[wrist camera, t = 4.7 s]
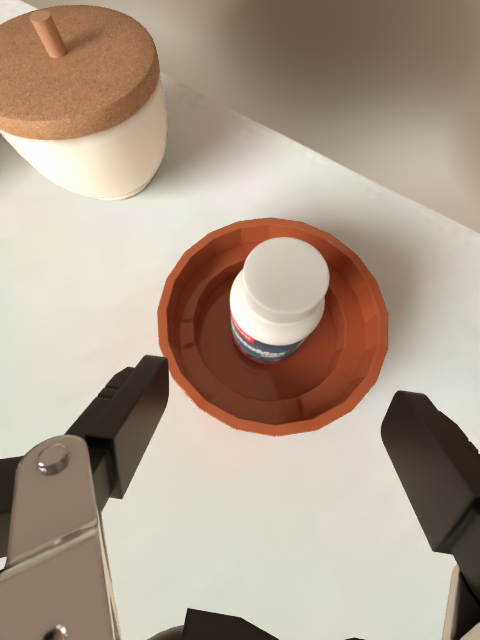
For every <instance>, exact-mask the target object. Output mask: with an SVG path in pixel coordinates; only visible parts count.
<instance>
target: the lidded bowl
mask: <svg viewBox="0 0 480 640" xmlns="http://www.w3.org/2000/svg"><path fill="white" fill-rule="evenodd" d="M0 133H1V135H2V136H3V137H4V138H5V139H6V140H7V141H8V142H9V143H10V145H11V146H12V147H13V148H14V149H15V150H16V151H17V152H18V153H19V154H20V155H21V156H22V157H23V158H24V159H25V160H26V161H27V162H28V163H29V164H30V165H31V166H33V167H34V168H35V169H36V170H37V171H39V172H40V173H41V174H42V175H44V176H45V177H46V178H48V179H49V180H51V181H52V182H54V183H56V184H57V185H59V186H61V187H62V188H65V189H67V190H69V191H71V192H74V193H76V194H80V195H83V196H88V197H94V198H97V199H101V200H106V201H117V200H123V199H127V198H130V197H132V196H134V195H136V194H138V193H139V192H141V191H142V190H143V189H144V188H146V187H147V185H148V184H149V183H150V181H151V179H152V177H153V175H154V174H155V173H156V171H157V169H158V168H159V166H160V164H161V162H162V159H163V156H164V153H165V149H166V143H167V135H168V129H167V113H166V104H165V97H164V91H163V86H162V82H161V77H160V69H159V60H158V55H157V51H156V47H155V44H154V41H153V39H152V37H151V36H150V34H149V33H148V31H147V30H146V29H145V28H144V27H143V26H142V25H141V24H140V23H139V22H137V21H136V20H135V19H133V18H132V17H130V16H128V15H126V14H123V13H121V12H118V11H115V10H112V9H108V8H103V7H98V6H89V5H65V6H55V7H50V8H45V9H40V10H36V11H31V12H29V13H26V14H23V15H20V16H18V17H15V18H13V19H11V20H8V21H6V22H5V23H3V24H1V25H0Z"/></svg>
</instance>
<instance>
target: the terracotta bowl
mask: <svg viewBox="0 0 480 640" xmlns="http://www.w3.org/2000/svg"><path fill="white" fill-rule="evenodd" d="M277 237H291V238H296V239H299V240H302V241H305V242H307V243H308V244H310V245H312V246H313V247H314V248H316V249H317V250H318V251H319V252H320V254H321V255H322V256H323V258H324V259H325V261H326V263H327V266H328V269H329V276H330V280H329V286H328V289H327V292H326V294H325V296H324V297H325V306H324V311H323V315H322V318H321V320H320V322H319V323H318V325H317V327H316V328H315V329H314V331H313V332H312V333H311V334H310V335H309V336H308V337H307V338H306V339H305V340H304V342H303V343H302V344H301V345H300V346H299V347H298V348H297V350H296V351H295V352H294V353H293V354H292V355H291V356H290V357H288V358H287V359H285V360H283V361H281V362H277V363H272V364H264V363H259V362H256V361H253V360H251V359H249V358H248V357H246V356H245V355H244V354H243V353H242V352H241V351H240V350H239V349H238V347H237V346H236V344H235V342H234V340H233V336H232V329H231V314H230V293H231V288H232V285H233V282H234V280H235V278H236V277H237V275H238V274H239V273H240V271H241V270H242V269H243V267H244V264H245V261H246V259H247V257H248V255H249V254H250V252H251V251H252V250H253V249H254V248H255V247H256V246H257V245H259V244H260V243H262V242H264V241H266V240H269V239H272V238H277ZM157 315H158V337H159V346H160V349H161V351H162V354H163V356H164V357H166V358H167V359H168V364H169V371H170V374H171V376H172V378H173V380H174V381H175V382H176V383H177V385H178V386H179V387H180V388H181V389H182V390H183V391H184V393H185V394H186V395H187V396H188V397H189V398H190V399H191V401H192V402H193V403H194V404H195V405H196V406H197V407H198V408H199V409H200V410H202V411H203V412H205V413H207V414H209V415H211V416H212V417H214V418H216V419H218V420H219V421H221V422H223V423H225V424H226V425H228V426H230V427H232V428H233V429H236V430H242V431H247V432H253V433H258V434H263V435H269V436H274V437H275V436H277V437H278V436H285V435H291V434H297V433H303V432H310V431H316V430H319V429H320V428H322V427H324V426H326V425H328V424H329V423H331V422H333V421H335V420H337V419H338V418H340V417H342V416H344V415H345V414H347V413H349V412H351V411H352V410H353V409H354V408H355V407H356V405H357V404H358V403H359V402H360V401H361V400H362V398H363V397H364V396H365V395H366V394H367V392H368V391H369V390H370V389H371V388H372V386H373V385H374V384H375V383H376V381H377V379H378V376H379V373H380V370H381V367H382V364H383V361H384V359H385V356H386V353H387V350H388V313H387V309H386V307H385V304H384V301H383V298H382V295H381V292H380V289H379V287H378V284H377V282H376V280H375V278H374V277H373V276H372V274H371V273H370V272H369V270H368V269H367V267H366V266H365V265H364V263H363V262H362V261H361V259H360V258H359V257H358V255H356V253H354V252H353V251H352V250H350V249H349V248H348V247H347V246H345V245H344V244H343V243H341V242H340V241H339V240H337V239H336V238H335V237H334V236H332V235H331V234H329V233H327V232H324V231H322V230H319V229H317V228H315V227H312V226H310V225H307V224H305V223H303V222H298V221H291V220H284V219H277V218H262V219H254V220H245V221H239V222H235V223H233V224H230V225H228V226H225V227H223V228H220V229H218V230H216V231H213V232H211V233H209V234H207V235H206V236H205V237H204V238H202V239H201V240H200V241H199V242H197V243H196V244H195V245H193V246H192V247H191V248H190V249H188V250H187V251H186V252H185V253H184V254H183V256H182V257H181V259H180V260H179V261H178V263H177V264H176V266H175V267H174V269H173V270H172V272H171V273H170V274H169V276H168V277H167V279H166V283H165V286H164V289H163V293H162V296H161V300H160V303H159V306H158V311H157Z"/></svg>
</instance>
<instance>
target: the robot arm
mask: <svg viewBox="0 0 480 640" xmlns="http://www.w3.org/2000/svg"><path fill="white" fill-rule="evenodd" d="M168 397H169V364H168V359H167V358H166V357H159V356H151V355H145V356H144V357H143V358H142V359H141V361H140V362H139V363H138V365H137V366H136V367H135V368H133V367H127V368H125V369H124V370H122V371H120V372H119V373H117V374H115V375H114V376H113V377H112V379H111V380H110V381H109V382H108V383H107V385H106V387H105V388H103V389H102V390H101V392H100V393H99V394H98V397H96V398H95V399H94V400H93V401H92V402H91V404H90V405H89V406H88V407H87V408H86V409H85V411H84V412H83V413H82V414H81V415H80V417H79V418H78V419H77V420H76V421H75V422H74V424H73V425H72V426H71V427H70V428H69V430H68V431H67V432H66V433H65V434H64V435H61V436H56V437H53V438H50V439H47V440H45V441H43V442H41V443H39V444H38V445H36V446H35V447H33V448H32V449H31V450H30V451H29V452H27V453H26V454H25V456H20V457H13V458H6V459H0V558H2V557H7V560H6V564H5V567H4V569H2V570H0V640H122V639H121V633H120V626H119V620H118V614H117V609H116V603H115V597H114V592H113V585H112V579H111V573H110V566H109V560H108V553H107V547H106V540H105V534H104V528H103V521H102V515H101V512H102V510H103V508H104V506H105V504H106V503H107V501H108V499H109V497H111V498H117V499H123V496H124V494H125V492H126V490H127V488H128V486H129V484H130V482H131V480H132V478H133V476H134V473H135V471H136V469H137V467H138V465H139V463H140V461H141V459H142V457H143V455H144V452H145V450H146V448H147V446H148V444H149V442H150V440H151V438H152V436H153V434H154V432H155V429H156V427H157V425H158V423H159V421H160V419H161V417H162V415H163V413H164V411H165V408H166V405H167V402H168ZM381 437H382V441H383V444H384V446H385V448H386V450H387V452H388V455H389V457H390V459H391V461H392V463H393V465H394V468H395V470H396V472H397V474H398V476H399V479H400V481H401V483H402V485H403V487H404V490H405V492H406V494H407V496H408V498H409V500H410V503H411V505H412V507H413V509H414V511H415V514H416V516H417V518H418V520H419V522H420V525H421V527H422V529H423V531H424V533H425V535H426V538H427V540H428V542H429V544H430V546H431V549H432V551H434V552H440V553H446V554H452V555H453V556H454V558H455V560H456V562H457V565H456V566H455V567H454V569H453V571H452V576H451V583H450V589H449V596H448V602H447V609H446V615H445V622H444V628H443V635H442V640H480V454H479V453H478V450H477V449H476V447H475V446H474V445H473V444H472V442H469V441H468V438H467V436H466V435H465V434H464V433H463V431H462V430H461V429H460V428H459V426H458V425H457V424H456V423H454V422H453V421H452V420H451V419H449V418H448V417H447V416H446V415H444V414H443V413H442V412H441V411H438V410H437V408H436V407H435V406H434V405H433V403H432V402H431V401H430V399H429V398H428V397H427V396H426V395H425V394H422V393H415V392H408V391H397V392H396V393H395V395H394V397H393V399H392V401H391V404H390V406H389V408H388V411H387V413H386V415H385V417H384V420H383V422H382V425H381ZM148 640H279V639H277V638H276V637H274V636H272V635H270V634H269V633H267V632H265V631H263V630H262V629H260V628H258V627H256V626H255V625H253V624H251V623H249V622H248V621H246V620H244V619H242V618H241V617H235V616H229V615H224V614H218V613H212V612H207V611H201V610H196V609H190V608H187V613H186V618H185V623H184V625H182V626H177V627H173V628H170V629H168V630H165V631H163V632H160V633H158V634H156V635H154V636H153V637H151V638H149V639H148ZM346 640H364V639H358V638H350V639H346Z"/></svg>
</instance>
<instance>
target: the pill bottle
mask: <svg viewBox="0 0 480 640" xmlns="http://www.w3.org/2000/svg"><path fill="white" fill-rule="evenodd" d="M329 280H330V276H329V269H328V266H327V263H326V261H325V259H324V258H323V256H322V255H321V254H320V252H319V251H318V250H317V249H316V248H314V247H313V246H312V245H310V244H308V243H307V242H305V241H302V240H299V239H296V238H291V237H277V238H272V239H269V240H266V241H264V242H262V243H260V244H259V245H257V246H256V247H255V248H254V249H253V250H252V251H251V252H250V254H249V255H248V257H247V259H246V261H245V264H244V267H243V269H242V270H241V271H240V273H239V274H238V275H237V277H236V278H235V280H234V282H233V285H232V288H231V293H230V314H231V329H232V336H233V340H234V342H235V344H236V346H237V347H238V349H239V350H240V351H241V352H242V353H243V354H244V355H245V356H246V357H248V358H249V359H251V360H253V361H256V362H259V363H264V364H272V363H277V362H281V361H283V360H285V359H287V358H288V357H290V356H291V355H292V354H293V353H294V352H295V351H296V350H297V348H298V347H299V346H300V345H301V344H302V343H303V342H304V340H305V339H306V338H307V337H308V336H309V335H310V334H311V333H312V332H313V331H314V329H315V328H316V327H317V325H318V323H319V322H320V320H321V318H322V315H323V311H324V306H325V297H324V296H325V294H326V292H327V289H328V286H329Z"/></svg>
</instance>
